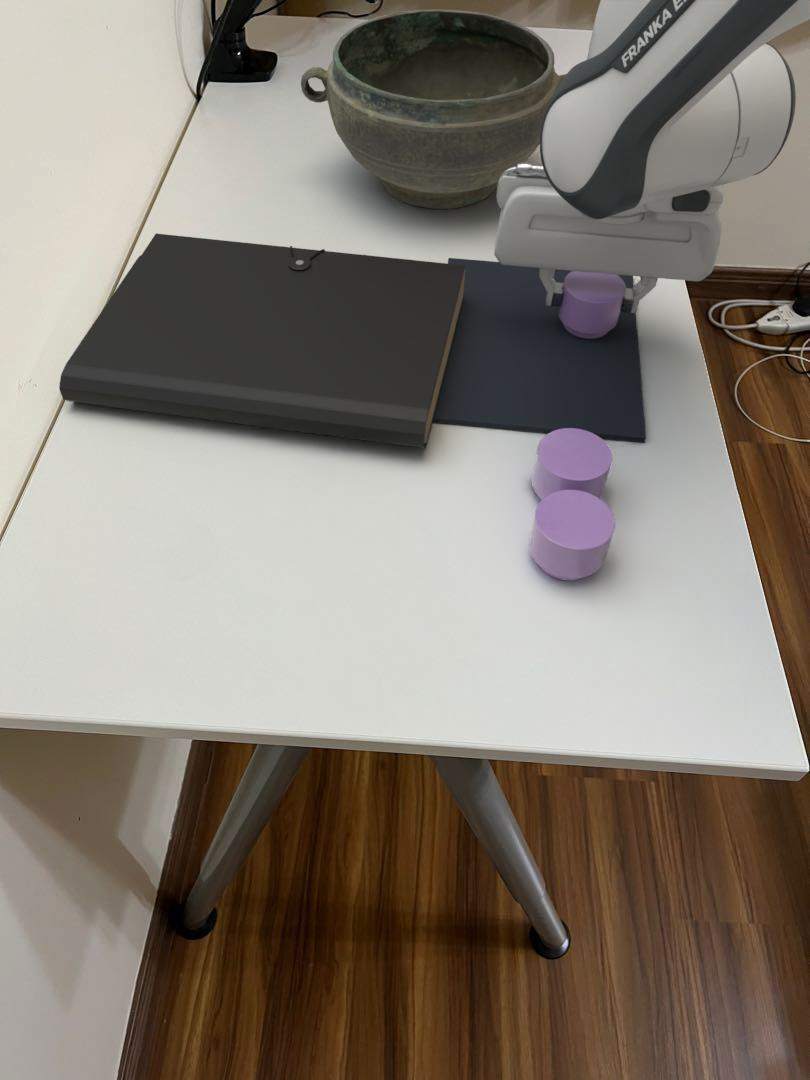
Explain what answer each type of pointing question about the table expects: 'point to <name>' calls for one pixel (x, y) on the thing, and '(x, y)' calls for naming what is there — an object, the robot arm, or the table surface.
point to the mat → (537, 362)
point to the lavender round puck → (591, 303)
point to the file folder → (274, 339)
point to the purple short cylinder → (571, 463)
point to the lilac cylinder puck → (571, 534)
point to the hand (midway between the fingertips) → (590, 306)
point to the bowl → (438, 101)
